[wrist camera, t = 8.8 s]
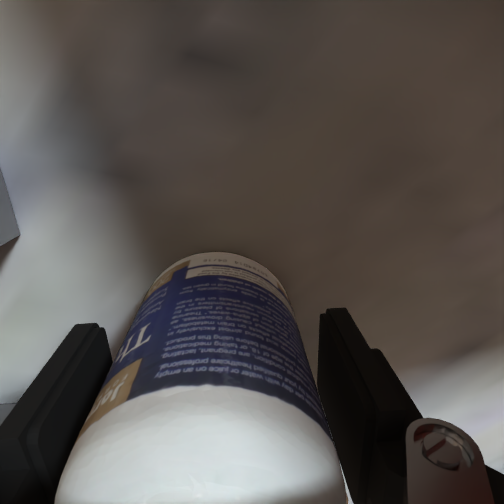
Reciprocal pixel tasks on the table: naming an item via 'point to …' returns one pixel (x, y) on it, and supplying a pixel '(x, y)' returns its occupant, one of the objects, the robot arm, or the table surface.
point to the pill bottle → (208, 400)
